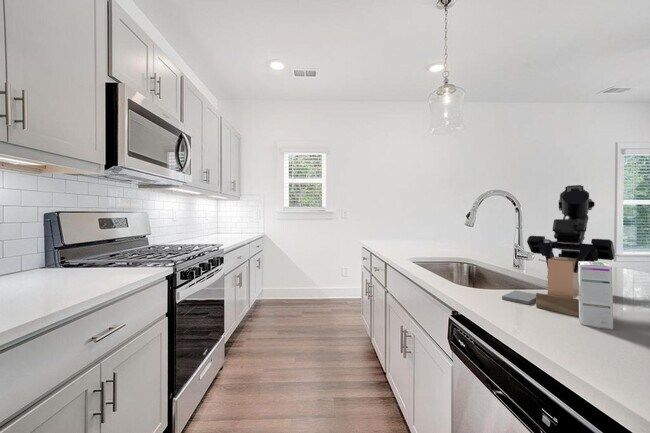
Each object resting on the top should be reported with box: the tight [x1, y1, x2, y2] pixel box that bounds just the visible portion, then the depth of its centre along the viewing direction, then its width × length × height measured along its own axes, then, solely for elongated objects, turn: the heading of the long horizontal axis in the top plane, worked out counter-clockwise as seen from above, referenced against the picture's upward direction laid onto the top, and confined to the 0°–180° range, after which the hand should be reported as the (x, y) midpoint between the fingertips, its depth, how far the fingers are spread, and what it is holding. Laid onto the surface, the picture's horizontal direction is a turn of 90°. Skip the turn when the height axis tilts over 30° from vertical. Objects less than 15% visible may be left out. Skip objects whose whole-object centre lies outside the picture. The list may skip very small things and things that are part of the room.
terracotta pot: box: [547, 256, 579, 299], centre depth 81 cm, size 6×6×10 cm
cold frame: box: [535, 292, 579, 317], centre depth 81 cm, size 10×10×4 cm
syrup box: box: [578, 261, 614, 331], centre depth 70 cm, size 6×6×14 cm
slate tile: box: [501, 290, 536, 306], centre depth 90 cm, size 10×7×1 cm
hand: (561, 270), depth 80 cm, fingers closed on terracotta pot, 5 cm apart
